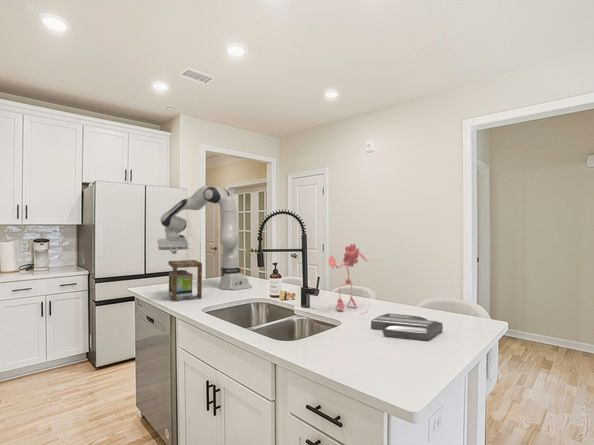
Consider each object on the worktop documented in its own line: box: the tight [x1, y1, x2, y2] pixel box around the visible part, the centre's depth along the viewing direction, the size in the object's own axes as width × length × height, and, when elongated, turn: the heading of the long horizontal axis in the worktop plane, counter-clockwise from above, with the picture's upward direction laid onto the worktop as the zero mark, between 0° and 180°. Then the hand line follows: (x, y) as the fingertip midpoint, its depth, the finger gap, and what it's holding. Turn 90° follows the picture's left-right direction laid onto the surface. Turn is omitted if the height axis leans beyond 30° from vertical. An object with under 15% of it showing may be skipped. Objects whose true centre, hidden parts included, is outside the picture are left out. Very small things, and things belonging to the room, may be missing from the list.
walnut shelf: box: [167, 259, 203, 303], centre depth 201 cm, size 16×20×21 cm
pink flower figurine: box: [327, 243, 369, 315], centre depth 172 cm, size 15×26×35 cm, turn 130°
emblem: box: [370, 313, 444, 341], centre depth 142 cm, size 28×5×28 cm
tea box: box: [168, 271, 194, 298], centre depth 200 cm, size 15×10×15 cm, turn 36°
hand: (174, 253), depth 235 cm, fingers closed
